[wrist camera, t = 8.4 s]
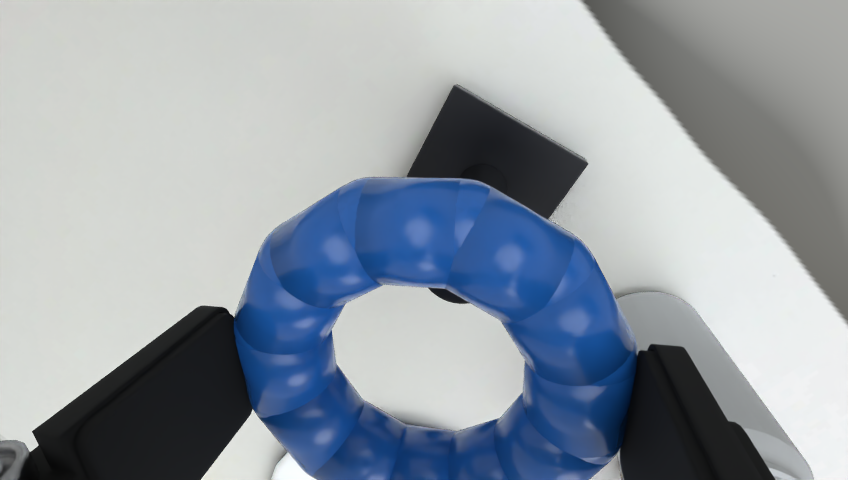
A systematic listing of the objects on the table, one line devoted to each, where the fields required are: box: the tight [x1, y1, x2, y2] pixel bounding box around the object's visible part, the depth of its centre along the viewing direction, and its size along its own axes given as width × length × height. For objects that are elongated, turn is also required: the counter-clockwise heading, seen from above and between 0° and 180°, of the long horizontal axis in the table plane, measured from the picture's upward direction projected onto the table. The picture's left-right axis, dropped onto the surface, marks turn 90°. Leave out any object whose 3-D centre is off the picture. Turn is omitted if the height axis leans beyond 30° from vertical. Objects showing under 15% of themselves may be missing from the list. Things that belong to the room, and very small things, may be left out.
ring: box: [233, 177, 639, 480], centre depth 10 cm, size 9×9×2 cm
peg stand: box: [407, 85, 588, 304], centre depth 19 cm, size 8×8×11 cm
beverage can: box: [616, 291, 814, 480], centre depth 20 cm, size 6×6×12 cm
